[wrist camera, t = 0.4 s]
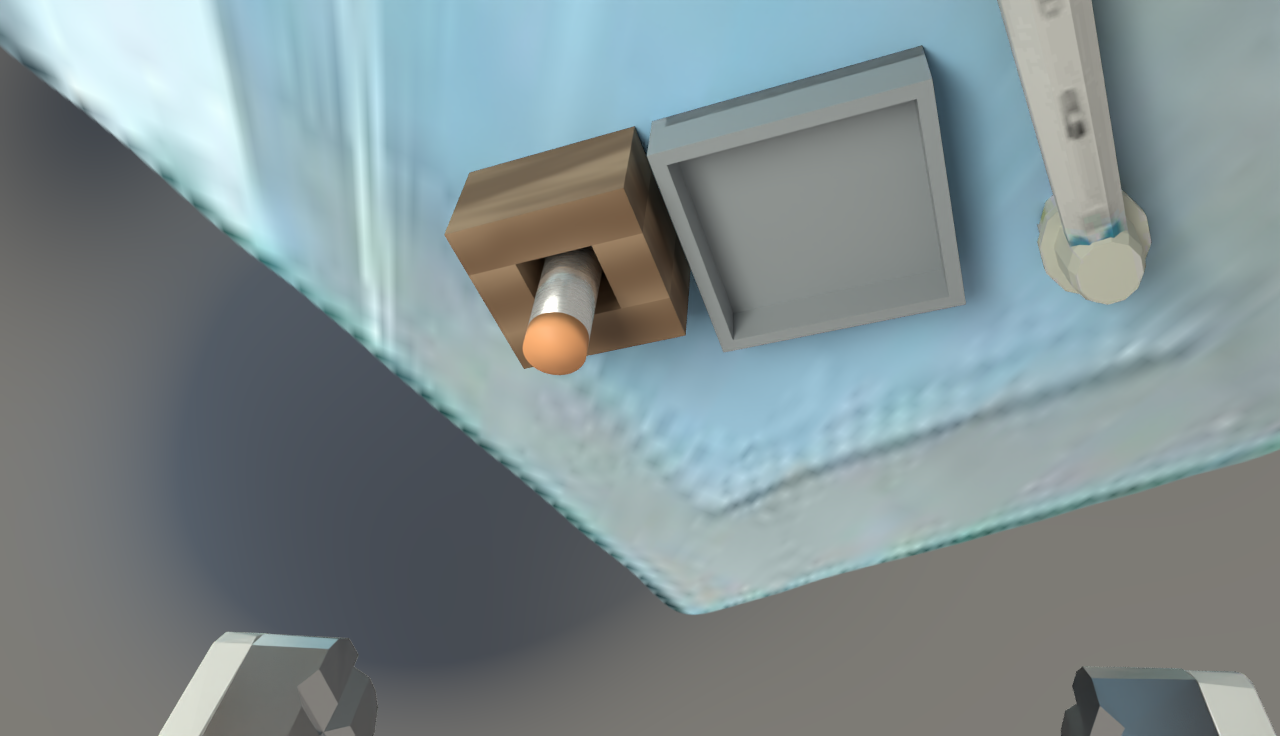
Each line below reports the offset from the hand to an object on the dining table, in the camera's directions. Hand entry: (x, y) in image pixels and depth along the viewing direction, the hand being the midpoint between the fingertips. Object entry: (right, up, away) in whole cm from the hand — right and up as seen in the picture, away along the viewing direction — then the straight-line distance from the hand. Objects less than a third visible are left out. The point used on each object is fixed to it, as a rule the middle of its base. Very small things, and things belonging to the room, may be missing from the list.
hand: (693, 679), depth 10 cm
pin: (-4, +12, +43) cm, 45 cm away
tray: (+9, +13, +41) cm, 44 cm away
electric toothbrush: (+20, +19, +35) cm, 44 cm away
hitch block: (-4, +12, +43) cm, 45 cm away
